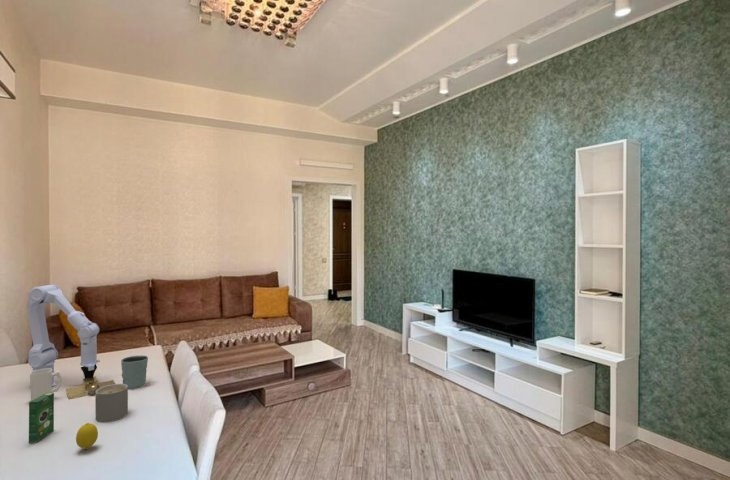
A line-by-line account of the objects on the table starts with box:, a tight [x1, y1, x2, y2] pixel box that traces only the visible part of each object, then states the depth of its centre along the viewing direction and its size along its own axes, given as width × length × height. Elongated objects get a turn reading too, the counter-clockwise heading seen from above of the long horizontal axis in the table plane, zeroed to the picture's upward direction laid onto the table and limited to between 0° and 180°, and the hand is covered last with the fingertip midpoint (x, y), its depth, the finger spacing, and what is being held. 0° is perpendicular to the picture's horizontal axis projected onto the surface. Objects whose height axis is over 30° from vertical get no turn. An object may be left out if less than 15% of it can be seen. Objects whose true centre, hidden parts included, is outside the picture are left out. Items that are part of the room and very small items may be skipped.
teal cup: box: [120, 355, 149, 391], centre depth 173 cm, size 10×10×12 cm
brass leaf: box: [65, 375, 99, 400], centre depth 166 cm, size 12×11×4 cm
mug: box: [29, 368, 63, 401], centre depth 157 cm, size 10×7×12 cm, turn 124°
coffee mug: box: [94, 383, 129, 423], centre depth 145 cm, size 13×10×10 cm
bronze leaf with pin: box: [87, 379, 116, 396], centre depth 169 cm, size 12×10×4 cm
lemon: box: [75, 422, 99, 450], centre depth 121 cm, size 6×6×8 cm
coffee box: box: [28, 392, 55, 444], centre depth 129 cm, size 8×3×13 cm, turn 6°
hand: (88, 382), depth 174 cm, fingers closed
